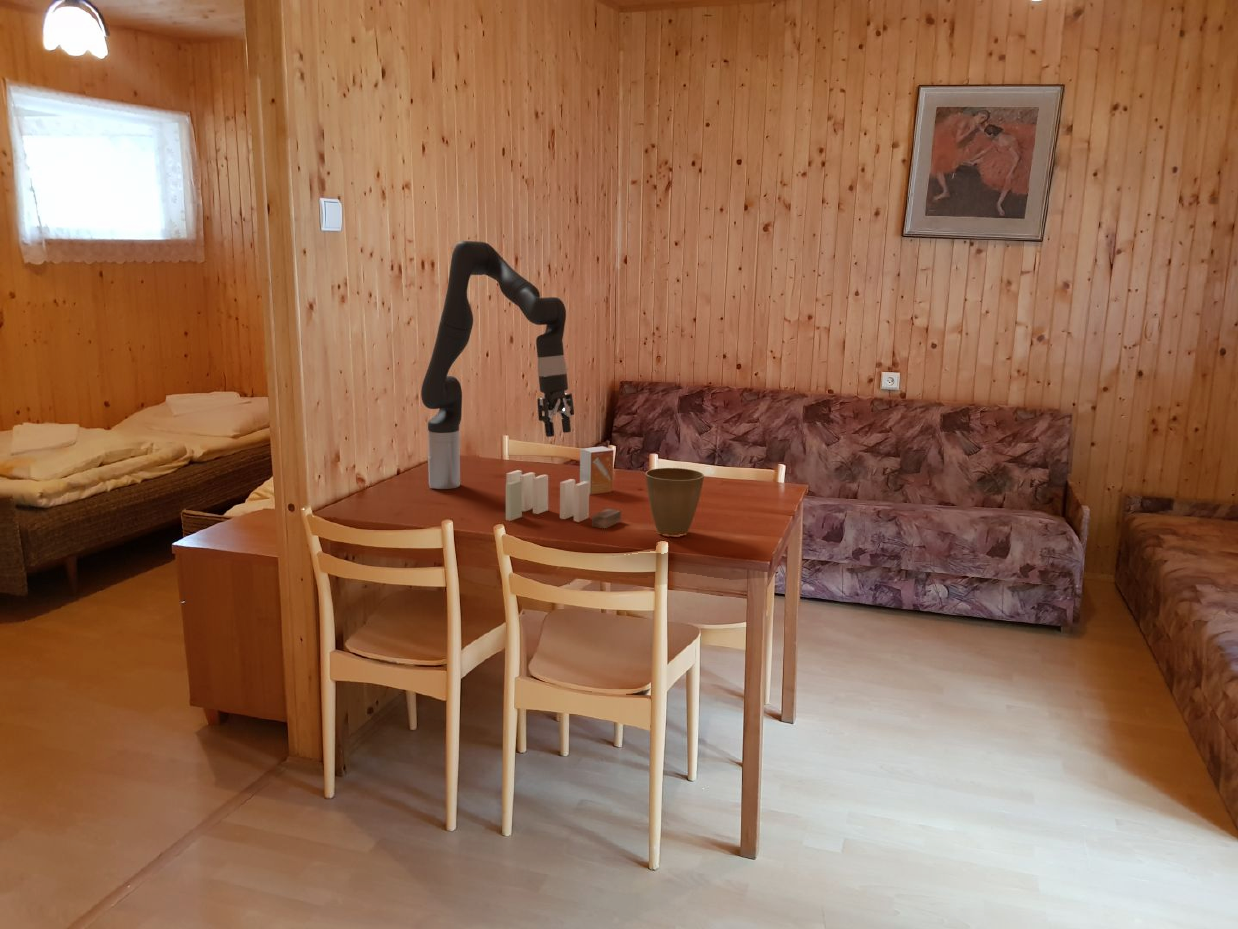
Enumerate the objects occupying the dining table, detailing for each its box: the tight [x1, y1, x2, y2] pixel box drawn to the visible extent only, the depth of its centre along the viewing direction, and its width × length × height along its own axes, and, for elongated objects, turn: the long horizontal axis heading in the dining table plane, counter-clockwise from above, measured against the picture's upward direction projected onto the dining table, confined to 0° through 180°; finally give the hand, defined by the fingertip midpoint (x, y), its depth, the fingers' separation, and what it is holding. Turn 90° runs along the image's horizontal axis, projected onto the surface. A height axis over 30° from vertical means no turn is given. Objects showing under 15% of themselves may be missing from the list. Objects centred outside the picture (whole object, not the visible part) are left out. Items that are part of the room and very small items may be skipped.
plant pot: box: [645, 467, 705, 535], centre depth 249 cm, size 15×15×16 cm
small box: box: [579, 446, 614, 496], centre depth 290 cm, size 8×6×13 cm
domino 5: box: [559, 478, 576, 520], centre depth 263 cm, size 2×5×10 cm, turn 149°
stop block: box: [591, 508, 622, 530], centre depth 257 cm, size 4×8×3 cm, turn 149°
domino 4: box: [532, 473, 549, 515], centre depth 267 cm, size 2×5×10 cm, turn 149°
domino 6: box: [573, 481, 590, 523], centre depth 261 cm, size 2×5×10 cm, turn 149°
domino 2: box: [505, 480, 523, 522], centre depth 260 cm, size 2×5×10 cm, turn 149°
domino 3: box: [520, 471, 536, 512], centre depth 270 cm, size 2×5×10 cm, turn 149°
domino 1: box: [506, 469, 523, 483], centre depth 272 cm, size 2×5×10 cm, turn 149°
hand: (558, 434), depth 258 cm, fingers open, 8 cm apart
